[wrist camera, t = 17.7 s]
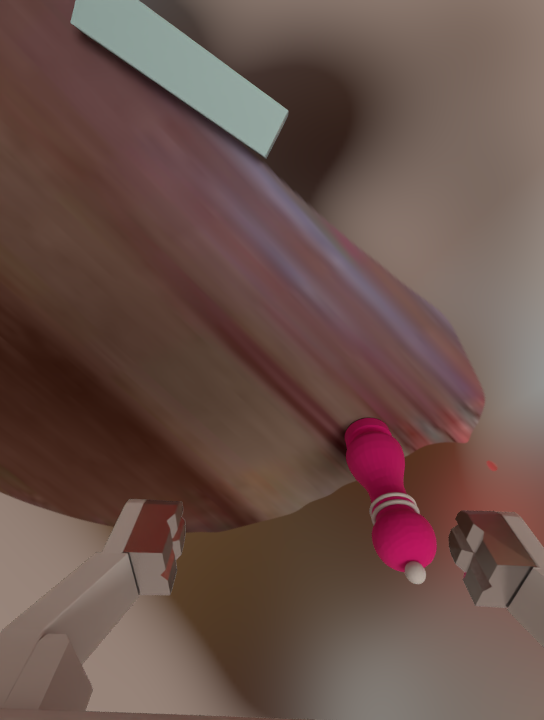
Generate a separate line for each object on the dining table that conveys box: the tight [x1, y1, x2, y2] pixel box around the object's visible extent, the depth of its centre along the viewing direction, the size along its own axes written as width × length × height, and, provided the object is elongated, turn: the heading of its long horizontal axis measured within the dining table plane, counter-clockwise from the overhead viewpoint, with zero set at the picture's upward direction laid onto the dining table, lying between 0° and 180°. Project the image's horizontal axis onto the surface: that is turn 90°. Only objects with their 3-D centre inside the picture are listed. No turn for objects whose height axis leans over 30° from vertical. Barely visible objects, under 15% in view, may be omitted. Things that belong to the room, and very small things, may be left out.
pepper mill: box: [345, 418, 437, 584], centre depth 39 cm, size 7×7×20 cm
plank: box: [71, 0, 288, 159], centre depth 29 cm, size 18×4×2 cm, turn 59°
